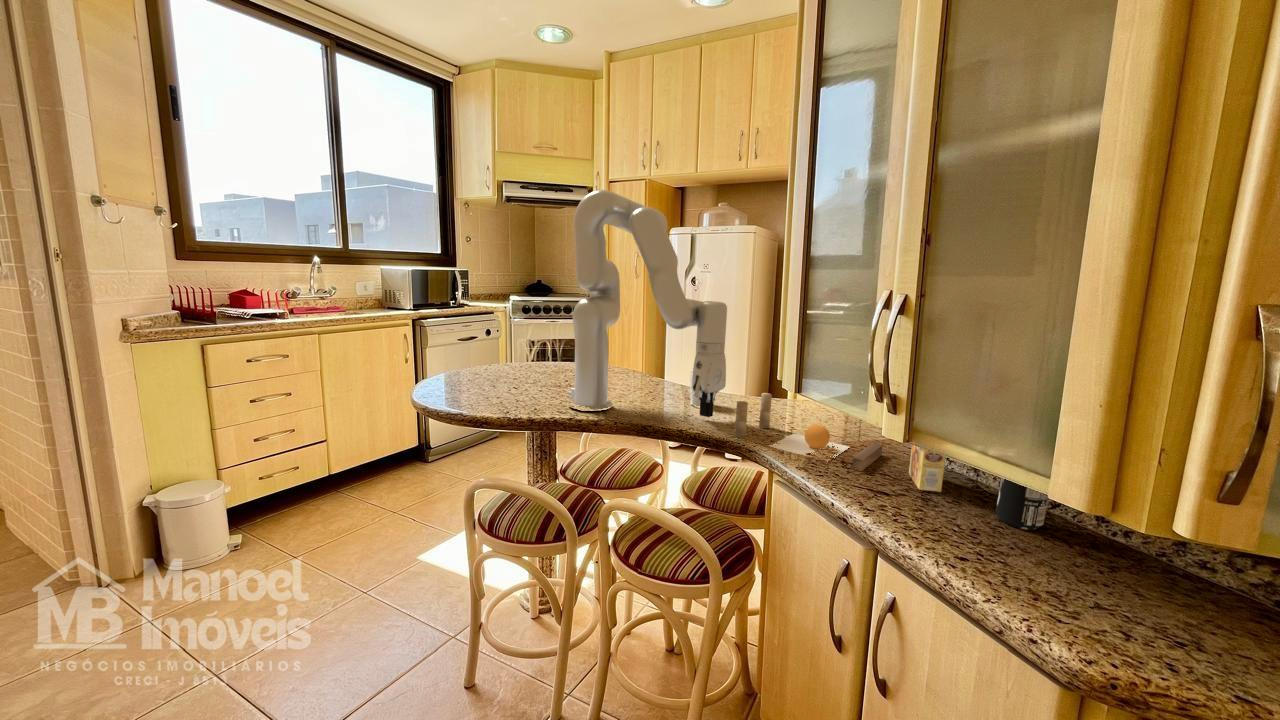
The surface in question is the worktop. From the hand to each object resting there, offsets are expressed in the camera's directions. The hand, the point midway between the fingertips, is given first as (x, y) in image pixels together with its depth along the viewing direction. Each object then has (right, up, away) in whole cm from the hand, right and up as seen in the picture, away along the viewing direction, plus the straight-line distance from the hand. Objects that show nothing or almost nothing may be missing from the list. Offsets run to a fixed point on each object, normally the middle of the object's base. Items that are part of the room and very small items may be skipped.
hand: (706, 415), depth 140 cm
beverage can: (+46, -13, -52) cm, 71 cm away
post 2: (+15, -3, -4) cm, 15 cm away
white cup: (+1, +1, +16) cm, 16 cm away
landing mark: (+22, -6, -18) cm, 29 cm away
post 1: (+7, -4, -13) cm, 15 cm away
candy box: (+39, -10, -37) cm, 54 cm away
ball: (+24, -3, -19) cm, 30 cm away
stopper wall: (+32, -7, -26) cm, 42 cm away
